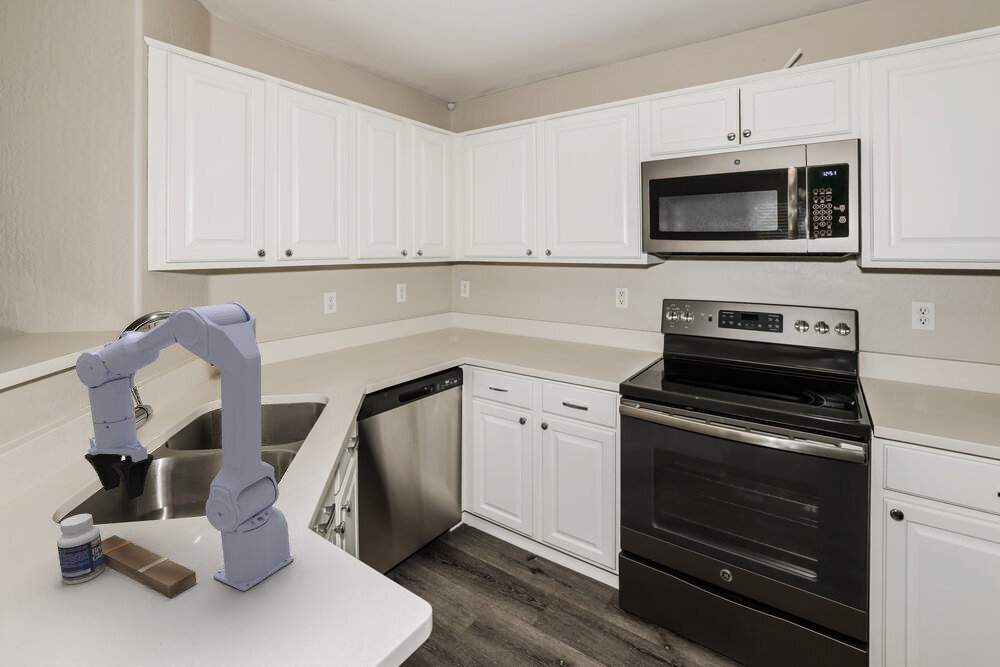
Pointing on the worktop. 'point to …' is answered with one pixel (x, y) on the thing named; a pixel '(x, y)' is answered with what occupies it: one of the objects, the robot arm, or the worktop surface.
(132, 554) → the striped brown wooden bar
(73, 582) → the pill bottle
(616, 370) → the worktop surface
